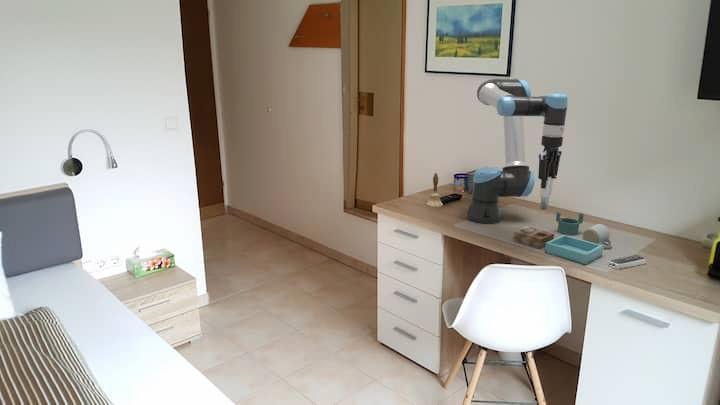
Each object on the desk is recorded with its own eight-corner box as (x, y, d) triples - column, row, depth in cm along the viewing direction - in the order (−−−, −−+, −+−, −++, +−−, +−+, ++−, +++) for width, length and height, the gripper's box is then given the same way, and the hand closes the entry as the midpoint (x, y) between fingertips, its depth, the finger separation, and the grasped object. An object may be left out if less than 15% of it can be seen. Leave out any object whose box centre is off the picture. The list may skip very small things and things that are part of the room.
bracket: (582, 233, 228) (585, 213, 226) (568, 236, 224) (571, 216, 221) (565, 227, 236) (568, 207, 233) (551, 230, 231) (553, 210, 229)
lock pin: (538, 208, 211) (542, 176, 207) (542, 207, 213) (546, 175, 209) (545, 210, 209) (549, 177, 205) (549, 208, 211) (552, 176, 207)
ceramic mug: (580, 243, 217) (583, 225, 214) (591, 238, 222) (593, 221, 219) (605, 251, 209) (608, 232, 207) (615, 246, 214) (619, 228, 211)
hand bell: (440, 208, 260) (442, 176, 256) (423, 205, 264) (425, 174, 259) (445, 203, 268) (446, 172, 263) (429, 201, 271) (430, 170, 267)
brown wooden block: (513, 240, 218) (514, 229, 217) (526, 235, 225) (527, 224, 223) (540, 249, 210) (541, 237, 208) (553, 243, 216) (554, 231, 215)
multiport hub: (645, 264, 197) (646, 258, 197) (617, 270, 191) (618, 264, 191) (634, 260, 201) (635, 254, 200) (607, 266, 195) (608, 260, 195)
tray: (544, 252, 206) (545, 242, 205) (562, 244, 215) (563, 234, 214) (585, 264, 195) (586, 254, 194) (602, 255, 204) (603, 245, 203)
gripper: (551, 139, 195) (543, 201, 202) (572, 134, 205) (564, 193, 212) (532, 136, 200) (526, 196, 207) (553, 132, 210) (546, 189, 217)
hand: (545, 195), depth 209 cm, fingers closed on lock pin, 3 cm apart
